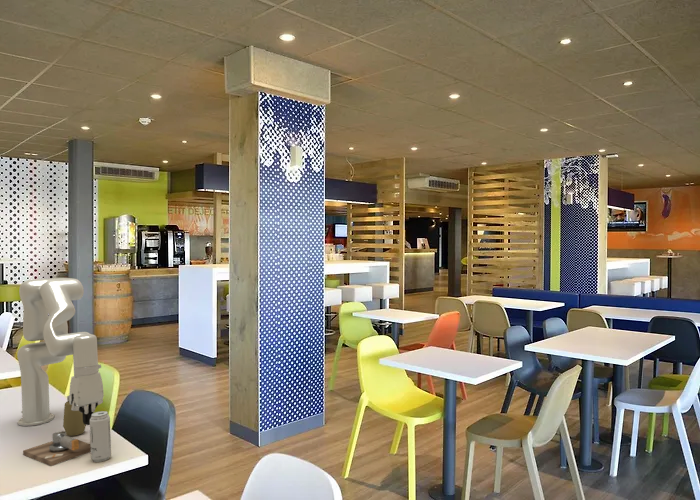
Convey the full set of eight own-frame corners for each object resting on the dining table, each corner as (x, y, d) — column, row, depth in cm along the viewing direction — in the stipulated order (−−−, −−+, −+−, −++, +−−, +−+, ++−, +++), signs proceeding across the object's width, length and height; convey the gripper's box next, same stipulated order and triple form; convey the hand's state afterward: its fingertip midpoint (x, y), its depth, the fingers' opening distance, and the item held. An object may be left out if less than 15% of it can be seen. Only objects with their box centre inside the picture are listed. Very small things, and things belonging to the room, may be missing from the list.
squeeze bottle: (77, 438, 194) (75, 389, 194) (58, 436, 196) (56, 388, 196) (92, 430, 202) (90, 383, 202) (73, 429, 204) (72, 382, 203)
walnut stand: (23, 454, 179) (23, 449, 179) (67, 440, 192) (67, 435, 192) (51, 466, 170) (50, 460, 170) (95, 449, 182) (95, 444, 182)
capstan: (45, 449, 179) (44, 435, 179) (65, 442, 185) (65, 429, 185) (65, 456, 172) (65, 442, 172) (86, 449, 178) (86, 435, 178)
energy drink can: (89, 458, 175) (87, 413, 175) (108, 453, 178) (107, 409, 178) (93, 464, 170) (91, 417, 170) (113, 459, 174) (111, 413, 173)
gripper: (100, 365, 190) (102, 416, 190) (58, 374, 178) (60, 429, 178) (112, 367, 186) (114, 419, 186) (70, 376, 174) (73, 432, 174)
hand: (88, 423), depth 182 cm, fingers closed
